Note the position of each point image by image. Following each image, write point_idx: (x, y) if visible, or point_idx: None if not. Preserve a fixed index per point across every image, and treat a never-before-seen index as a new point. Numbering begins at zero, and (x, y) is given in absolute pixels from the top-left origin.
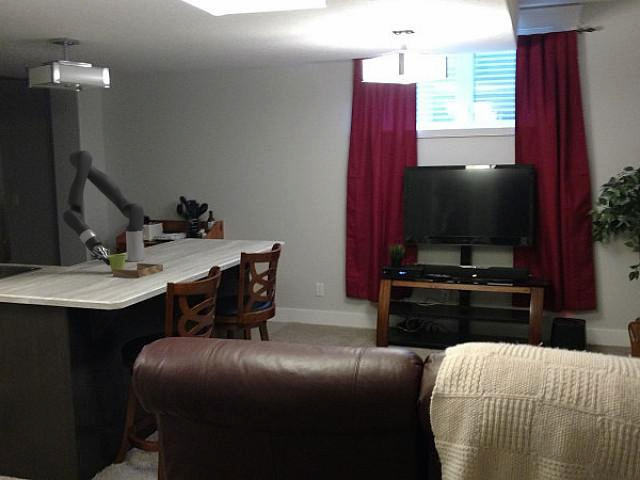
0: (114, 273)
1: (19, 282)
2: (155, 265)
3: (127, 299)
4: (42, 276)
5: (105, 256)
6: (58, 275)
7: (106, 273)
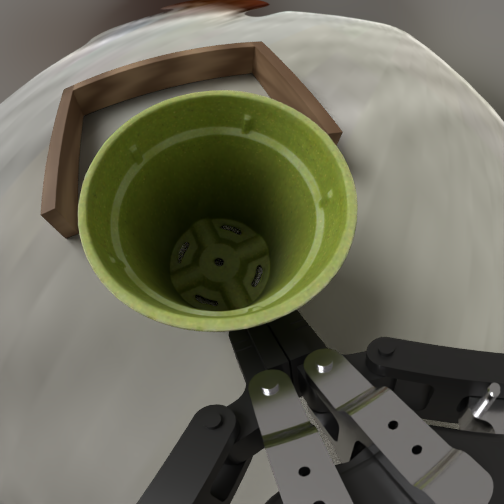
0: None
1: None
2: (71, 106)
3: (380, 23)
4: None
5: (321, 375)
6: None
7: None
